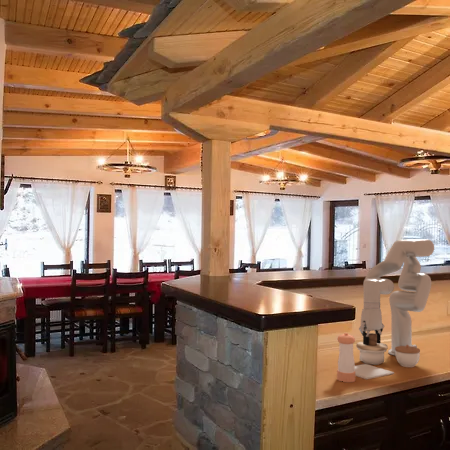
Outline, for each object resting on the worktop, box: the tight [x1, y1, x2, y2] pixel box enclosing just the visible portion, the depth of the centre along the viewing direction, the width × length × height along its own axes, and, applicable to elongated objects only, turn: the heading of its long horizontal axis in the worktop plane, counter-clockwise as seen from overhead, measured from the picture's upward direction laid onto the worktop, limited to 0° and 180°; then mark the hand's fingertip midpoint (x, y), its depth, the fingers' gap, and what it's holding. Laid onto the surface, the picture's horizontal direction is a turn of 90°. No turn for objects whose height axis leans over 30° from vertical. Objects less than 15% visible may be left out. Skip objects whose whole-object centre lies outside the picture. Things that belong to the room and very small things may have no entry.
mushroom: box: [357, 348, 387, 366], centre depth 228 cm, size 13×13×7 cm
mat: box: [354, 363, 395, 380], centre depth 212 cm, size 17×16×1 cm
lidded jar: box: [395, 345, 421, 368], centre depth 223 cm, size 11×11×9 cm
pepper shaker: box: [336, 332, 356, 383], centre depth 200 cm, size 7×7×19 cm
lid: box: [356, 332, 389, 351], centre depth 228 cm, size 14×14×6 cm
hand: (371, 343), depth 228 cm, fingers open, 6 cm apart
